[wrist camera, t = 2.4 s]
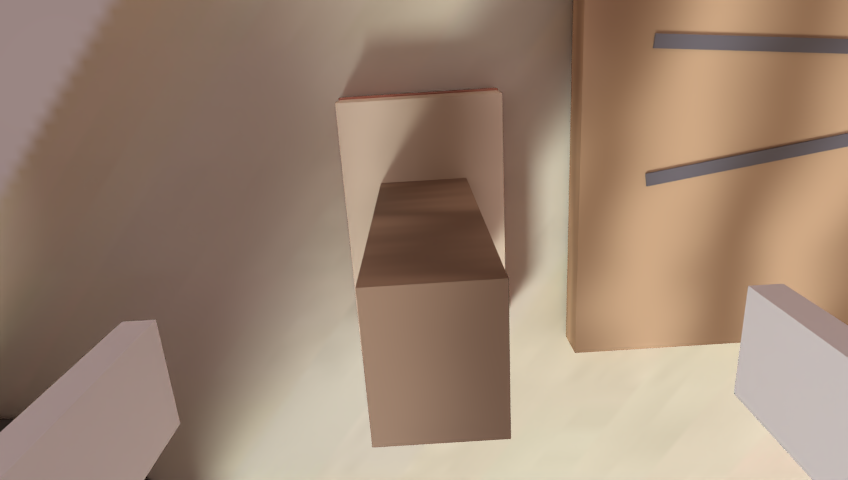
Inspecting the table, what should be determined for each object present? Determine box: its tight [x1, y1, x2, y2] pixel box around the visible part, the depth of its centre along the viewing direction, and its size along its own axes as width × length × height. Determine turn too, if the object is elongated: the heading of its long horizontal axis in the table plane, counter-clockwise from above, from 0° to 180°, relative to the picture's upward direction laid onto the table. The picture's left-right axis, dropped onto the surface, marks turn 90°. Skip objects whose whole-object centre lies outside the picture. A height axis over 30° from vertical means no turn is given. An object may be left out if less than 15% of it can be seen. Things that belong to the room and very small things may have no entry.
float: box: [335, 88, 511, 447], centre depth 18 cm, size 6×10×12 cm, turn 3°
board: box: [566, 0, 848, 353], centre depth 21 cm, size 14×22×2 cm, turn 3°
